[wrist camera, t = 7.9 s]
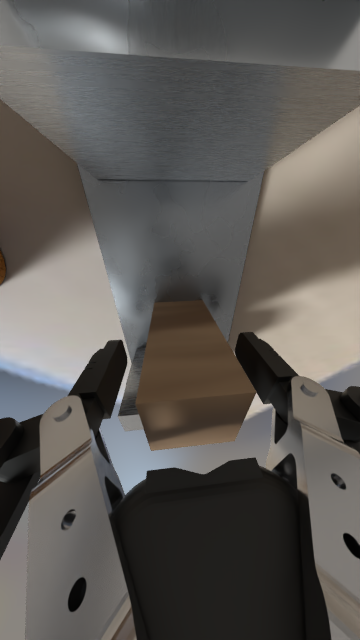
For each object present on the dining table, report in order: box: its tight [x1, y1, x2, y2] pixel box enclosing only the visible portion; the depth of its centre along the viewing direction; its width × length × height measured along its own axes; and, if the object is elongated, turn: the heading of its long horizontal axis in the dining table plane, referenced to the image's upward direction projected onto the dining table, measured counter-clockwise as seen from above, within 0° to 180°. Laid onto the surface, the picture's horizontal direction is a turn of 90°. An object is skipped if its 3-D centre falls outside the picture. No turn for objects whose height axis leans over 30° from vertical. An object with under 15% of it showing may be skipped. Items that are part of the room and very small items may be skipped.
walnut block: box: [135, 300, 256, 451], centre depth 9 cm, size 4×4×8 cm
